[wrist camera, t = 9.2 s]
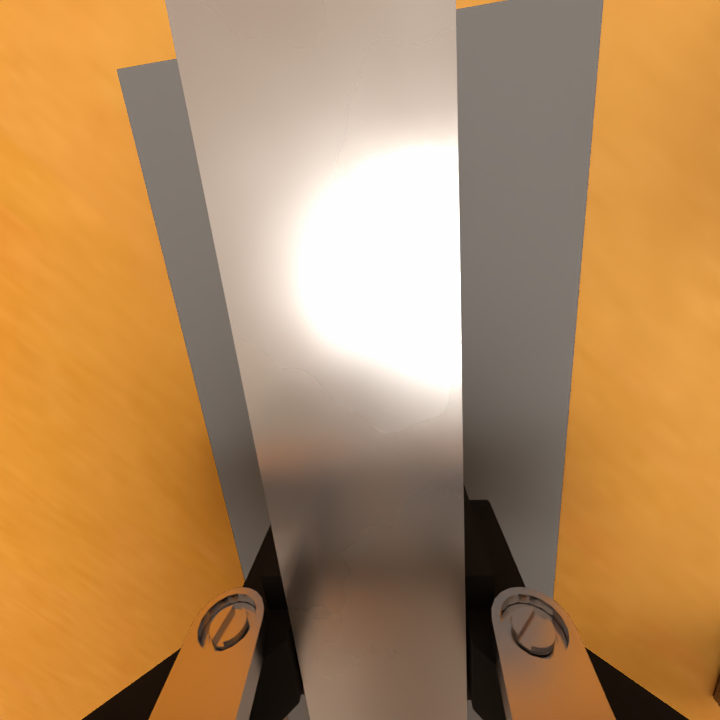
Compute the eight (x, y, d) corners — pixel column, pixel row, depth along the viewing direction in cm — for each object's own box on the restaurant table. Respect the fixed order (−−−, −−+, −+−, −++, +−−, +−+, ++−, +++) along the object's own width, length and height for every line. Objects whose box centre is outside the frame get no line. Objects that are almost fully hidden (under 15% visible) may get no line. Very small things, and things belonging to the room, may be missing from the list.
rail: (450, 791, 12) (471, 966, 9) (364, 786, 12) (357, 952, 9) (419, 6, 6) (452, -258, 3) (252, 36, 6) (130, -173, 3)
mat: (536, 716, 14) (541, 732, 13) (283, 706, 15) (280, 721, 15) (590, 1, 7) (604, -17, 7) (131, 80, 8) (116, 69, 8)
